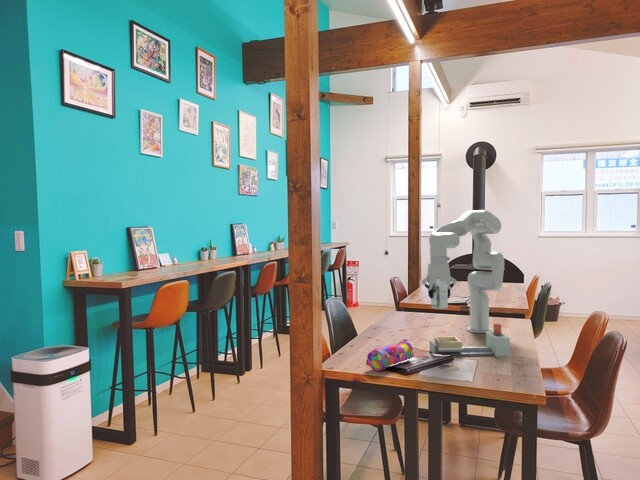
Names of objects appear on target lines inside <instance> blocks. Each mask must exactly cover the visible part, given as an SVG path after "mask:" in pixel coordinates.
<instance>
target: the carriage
mask: <svg viewBox="0 0 640 480" xmlns="http://www.w3.org/2000/svg"><path fill="white" fill-rule="evenodd" d="M434 342H435V343H436V344H437V349H438V352H461V350H463V347H464V346H463V343H462V341H461V339H459V338H458V337H457V336H455V335H454V336H434Z"/></svg>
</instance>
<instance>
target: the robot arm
mask: <svg viewBox="0 0 640 480" xmlns="http://www.w3.org/2000/svg"><path fill="white" fill-rule="evenodd" d="M501 222H502V221H501V219H500V218H498V217H497V216H496V215H494V214H493V212H490V211H488V210H486V209H485V210H484V209H478V210H467V211H465V212H464V213H462V214H461V215H460V216H459V217H458V218H457V219H455V220H454V221H452V222H450V223H447V224H444V225H441V226H439V227H438V228H436V229H435V230H434V231H433V232H432V233H431V234H430V236H429V239H428V243H429V252H430V253H429V254H430V255H429V256H430V262H429V263H428V265H427V275H426V277H425V278H424V279H422V280H421V283H422V285H423V286H424V287H425V288H426V289H427V291H428V292H427V293H428V295H427V296H428V297H429V298H430V299H432V298H433V293H432V287H433V285H435V283H436V278H443V279H444V280H445V283H446V284H448V299H450V297H451V290H452V288H453V287H454V286H455V284H456V283H457V282H458V281H457V279H456V278H454V277H452V276H451V270H450V265H449V262H448V261H450V260H451V258H450V256H449V257H448V251H447V250H448V249H456V248H457V247H458V246H459V245H460V243H461V239H460V238H461V237H463V236H466V235H467V234H468V233H469V234H470V235H471V237H472V239H473V244H474V245H473V255H472V266H473V267H474V268H475V269H477V271H471V272H470V273H469V274H468V276H467V284H468V291H469V326H467V327H466V330H467V331H468V332H470V333H475V334H486V331H493V329H492V328H493V327H490V318H489V317H490V314H489V313H490V303H489V301H490V298H489V295H488V294H487V292H486V291H492V292H493V291H494V292H498V291H500V290H501V289H502V286H503V282H504V281H503V279H504V271H505V257H504V255H503V254H502V253H501V252H498V251H491V249H492V242H491V239H490V238H489V236H488V235H496V234H498V233H500V232H501V229H502V223H501ZM478 269H479V271H478ZM480 270H491V271H480ZM427 283H428V284H427Z"/></svg>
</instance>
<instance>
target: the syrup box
mask: <svg viewBox="0 0 640 480" xmlns="http://www.w3.org/2000/svg"><path fill="white" fill-rule="evenodd" d="M432 293H433V298H432V299H431V298H430V299H431V301H430V302H431V308H433V309H436V310H444V309H449V298H448V284H446V283H445V280H444V279H443V278H436V283H435V285H433V287H432Z"/></svg>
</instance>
